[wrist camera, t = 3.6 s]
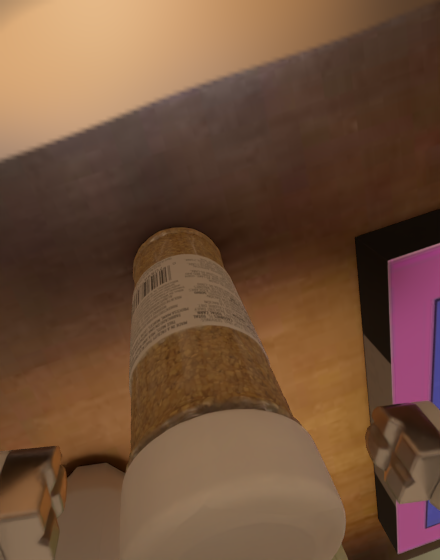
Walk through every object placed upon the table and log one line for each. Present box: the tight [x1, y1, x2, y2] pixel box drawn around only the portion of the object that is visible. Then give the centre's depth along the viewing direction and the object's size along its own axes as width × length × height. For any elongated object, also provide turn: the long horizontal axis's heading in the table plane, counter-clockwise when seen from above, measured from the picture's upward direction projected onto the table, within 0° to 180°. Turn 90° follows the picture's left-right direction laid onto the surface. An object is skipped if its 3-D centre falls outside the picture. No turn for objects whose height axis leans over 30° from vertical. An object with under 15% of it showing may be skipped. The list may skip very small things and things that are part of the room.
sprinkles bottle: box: [120, 227, 346, 560], centre depth 13 cm, size 5×5×13 cm
